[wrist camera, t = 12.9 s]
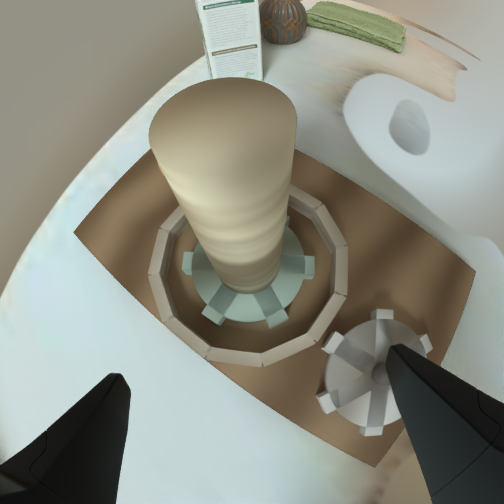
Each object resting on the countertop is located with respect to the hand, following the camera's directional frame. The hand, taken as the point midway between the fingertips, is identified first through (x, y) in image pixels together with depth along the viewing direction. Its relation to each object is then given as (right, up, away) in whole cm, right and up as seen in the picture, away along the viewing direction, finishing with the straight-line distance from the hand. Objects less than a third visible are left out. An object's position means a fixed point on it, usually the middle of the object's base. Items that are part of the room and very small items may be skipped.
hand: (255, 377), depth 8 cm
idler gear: (0, +3, +11) cm, 11 cm away
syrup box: (-2, +25, +21) cm, 32 cm away
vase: (+4, +34, +24) cm, 42 cm away
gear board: (+2, +4, +12) cm, 13 cm away
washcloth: (+18, +43, +27) cm, 54 cm away
